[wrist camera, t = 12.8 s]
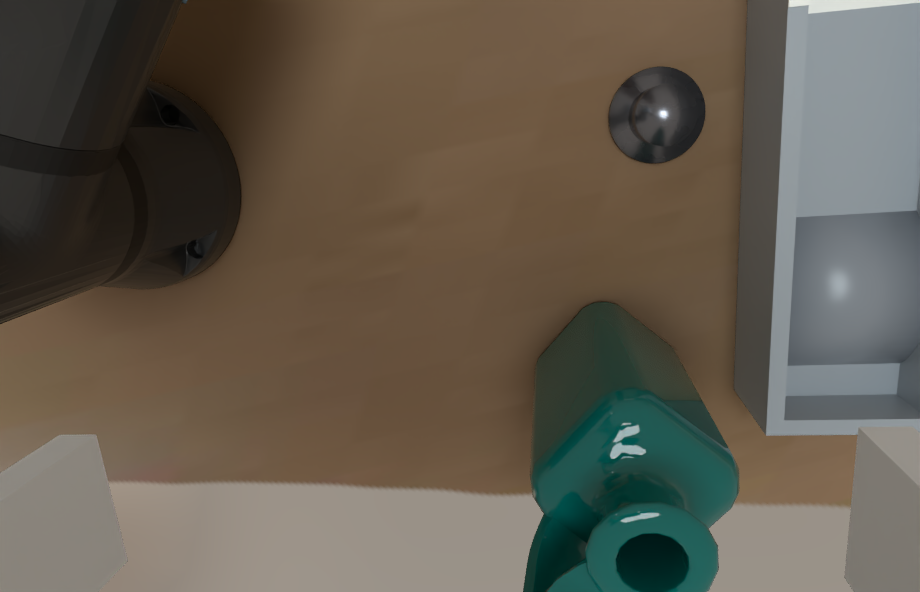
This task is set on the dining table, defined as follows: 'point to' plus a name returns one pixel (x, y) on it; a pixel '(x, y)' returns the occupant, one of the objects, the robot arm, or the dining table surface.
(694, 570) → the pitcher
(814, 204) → the lane
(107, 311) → the dining table surface
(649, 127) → the tee
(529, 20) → the dining table surface
